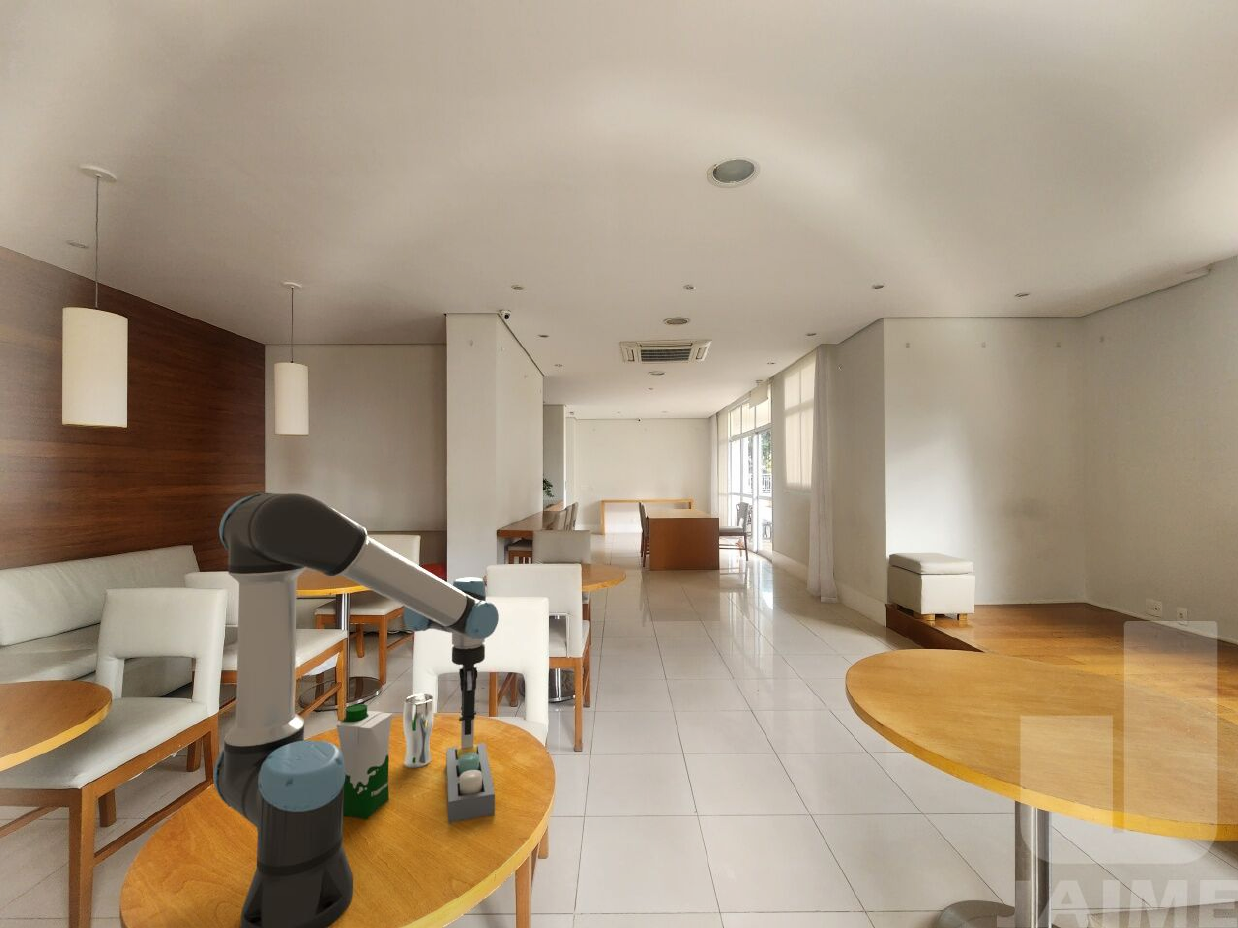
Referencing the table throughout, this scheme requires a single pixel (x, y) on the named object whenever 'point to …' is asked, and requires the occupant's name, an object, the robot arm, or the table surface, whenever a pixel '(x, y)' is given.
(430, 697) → the beer glass
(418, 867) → the table surface
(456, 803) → the console
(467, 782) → the button ivory
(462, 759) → the button teal
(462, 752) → the button amber
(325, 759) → the robot arm
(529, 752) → the table surface
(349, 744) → the milk carton
